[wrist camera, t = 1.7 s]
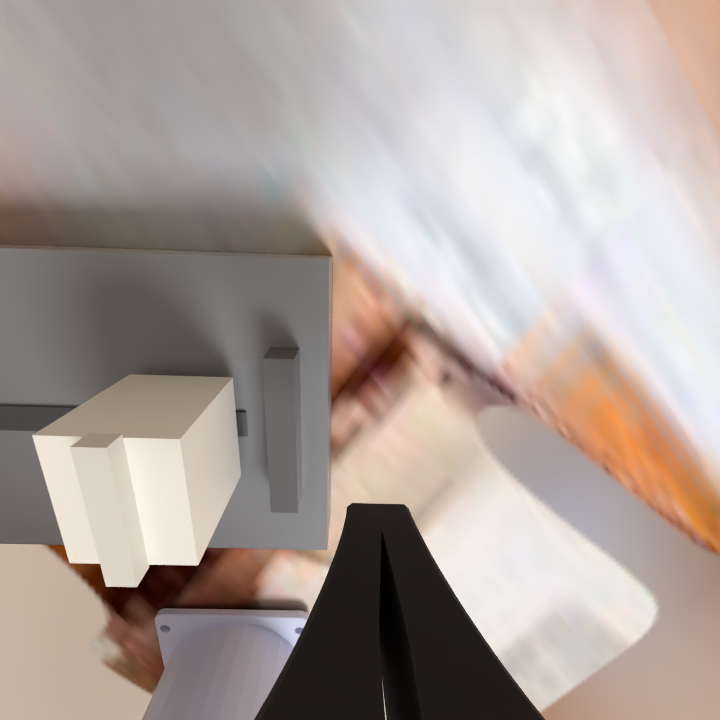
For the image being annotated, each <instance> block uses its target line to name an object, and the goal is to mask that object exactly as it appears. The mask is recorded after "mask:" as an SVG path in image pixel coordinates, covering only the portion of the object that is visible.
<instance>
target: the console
mask: <svg viewBox="0 0 720 720" xmlns="http://www.w3.org/2000/svg"><path fill="white" fill-rule="evenodd" d="M332 292H333V256H321V255H292V254H264V253H236V252H208V251H180V250H151V249H123V248H95V247H67V246H39V245H10V244H0V543H1V544H49V545H64V542H63V539H62V536H61V532H60V529H59V525H58V522H57V519H56V515H55V512H54V508H53V505H52V502H51V498H50V495H49V491H48V488H47V485H46V481H45V478H44V474H43V471H42V468H41V464H40V461H39V457H38V454H37V451H36V447H35V444H34V440H33V437H32V435H33V434H35V433H37V432H38V431H40V430H41V429H43V428H45V427H46V426H48V425H49V424H51V423H53V422H54V421H56V420H57V419H59V418H61V417H62V416H64V415H66V414H67V413H69V412H70V411H72V410H74V409H75V408H77V407H78V406H80V405H82V404H83V403H85V402H86V401H88V400H90V399H91V398H93V397H94V396H96V395H98V394H99V393H101V392H102V391H104V390H106V389H107V388H109V387H110V386H112V385H114V384H115V383H117V382H118V381H120V380H122V379H123V378H125V377H126V376H128V375H130V374H134V375H169V376H204V377H233V385H234V397H235V409H236V421H237V433H238V444H239V456H240V468H241V477H240V479H239V481H238V483H237V485H236V487H235V489H234V491H233V493H232V495H231V497H230V500H229V502H228V504H227V506H226V508H225V510H224V512H223V514H222V516H221V518H220V521H219V523H218V525H217V527H216V529H215V531H214V533H213V535H212V537H211V539H210V542H209V544H208V546H207V548H253V549H304V550H327V545H328V534H329V524H330V490H331V391H332Z"/></svg>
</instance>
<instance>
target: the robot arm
mask: <svg viewBox="0 0 720 720" xmlns="http://www.w3.org/2000/svg"><path fill="white" fill-rule="evenodd" d="M155 626H156V630H157V635H158V640H159V645H160V650H161V654H162V659H163V664H164V671H163V673H162V676H161V678H160V680H159V682H158V685H157V687H156V689H155V691H154V694H153V696H152V698H151V700H150V703H149V705H148V707H147V710H146V712H145V714H144V717H143V719H142V720H385V713H384V700H383V690H384V699H385V708H386V716H387V720H545V719H544V718H543V716H542V715H541V714H540V713H539V711H538V710H537V709H536V708H535V706H534V705H533V704H532V703H531V701H530V700H529V699H528V697H527V696H526V695H525V693H524V692H523V691H522V690H521V688H520V687H519V686H518V684H517V683H516V682H515V680H514V679H513V678H512V676H511V675H510V674H509V672H508V671H507V670H506V668H505V667H504V666H503V664H502V663H501V662H500V660H499V659H498V657H497V656H496V655H495V653H494V652H493V650H492V649H491V648H490V646H489V645H488V643H487V642H486V641H485V639H484V638H483V636H482V635H481V633H480V632H479V630H478V629H477V627H476V626H475V624H474V623H473V621H472V620H471V618H470V617H469V615H468V614H467V612H466V611H465V609H464V608H463V606H462V605H461V603H460V602H459V600H458V598H457V597H456V595H455V594H454V592H453V590H452V589H451V587H450V585H449V584H448V582H447V580H446V579H445V577H444V575H443V574H442V572H441V571H440V569H439V567H438V565H437V564H436V562H435V560H434V558H433V557H432V555H431V553H430V551H429V549H428V548H427V546H426V544H425V542H424V540H423V538H422V536H421V534H420V532H419V530H418V528H417V526H416V524H415V522H414V520H413V518H412V516H411V513H410V511H409V509H408V508H407V507H406V506H405V505H404V504H363V503H352V504H351V505H349V506H348V507H347V513H346V519H345V523H344V528H343V531H342V535H341V538H340V541H339V544H338V547H337V550H336V553H335V556H334V558H333V561H332V564H331V566H330V569H329V571H328V574H327V576H326V579H325V582H324V584H323V586H322V589H321V591H320V593H319V596H318V598H317V600H316V602H315V604H314V606H313V609H312V611H311V613H310V615H309V614H308V613H307V612H305V611H301V610H241V609H180V608H165V609H161V610H159V612H158V613H157V615H156V617H155ZM382 682H383V686H382Z"/></svg>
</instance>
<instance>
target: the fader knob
mask: <svg viewBox="0 0 720 720" xmlns="http://www.w3.org/2000/svg"><path fill="white" fill-rule="evenodd" d="M32 437H33V440H34V444H35V447H36V451H37V454H38V457H39V461H40V464H41V468H42V471H43V474H44V478H45V481H46V485H47V488H48V491H49V495H50V498H51V502H52V505H53V508H54V512H55V515H56V519H57V522H58V525H59V529H60V532H61V536H62V539H63V542H64V546H65V549H66V553H67V556H68V559H69V563H89V564H100V565H101V569H102V573H103V577H104V581H105V585H106V587H137V586H138V585H139V583H140V582H141V580H142V578H143V577H144V575H145V573H146V572H147V570H148V569H149V565H196V566H198V565H199V563H200V560H201V558H202V556H203V554H204V552H205V550H206V548H207V546H208V544H209V542H210V539H211V537H212V535H213V533H214V531H215V529H216V527H217V525H218V523H219V521H220V518H221V516H222V514H223V512H224V510H225V508H226V506H227V504H228V502H229V500H230V497H231V495H232V493H233V491H234V489H235V487H236V485H237V483H238V481H239V479H240V477H241V468H240V456H239V444H238V433H237V421H236V409H235V397H234V385H233V377H204V376H169V375H134V374H130V375H128V376H126V377H125V378H123V379H122V380H120V381H118V382H117V383H115V384H114V385H112V386H110V387H109V388H107V389H106V390H104V391H102V392H101V393H99V394H98V395H96V396H94V397H93V398H91V399H90V400H88V401H86V402H85V403H83V404H82V405H80V406H78V407H77V408H75V409H74V410H72V411H70V412H69V413H67V414H66V415H64V416H62V417H61V418H59V419H57V420H56V421H54V422H53V423H51V424H49V425H48V426H46V427H45V428H43V429H41V430H40V431H38V432H37V433H35V434H33V435H32Z"/></svg>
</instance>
